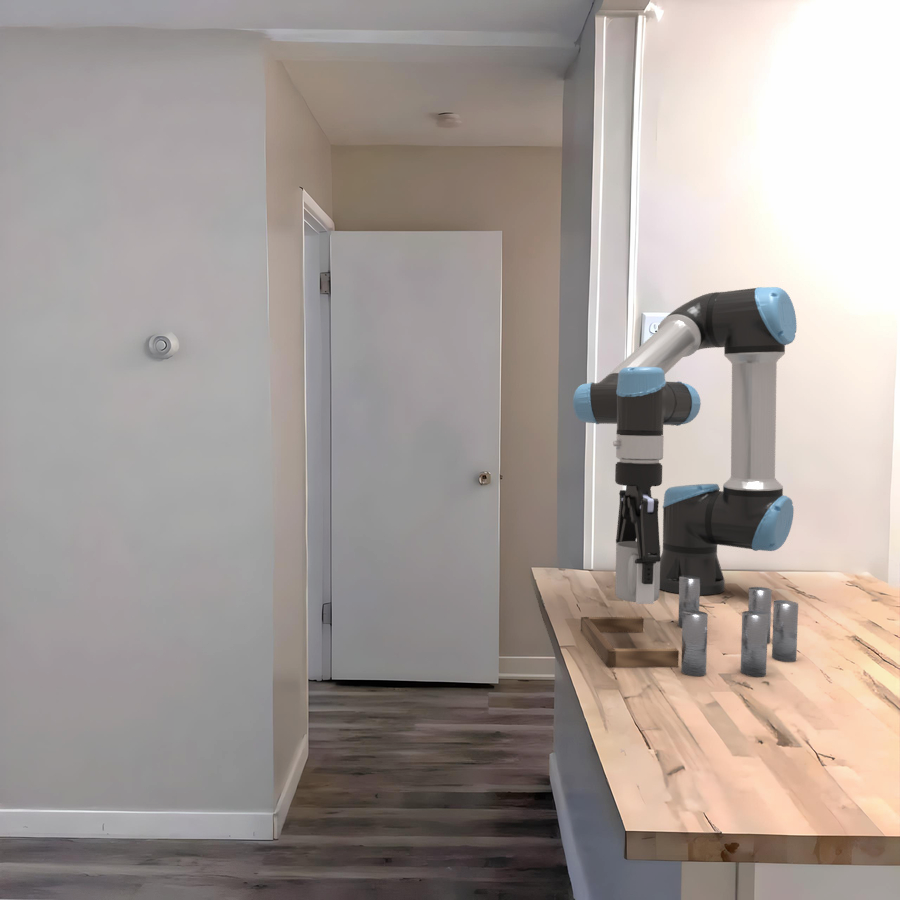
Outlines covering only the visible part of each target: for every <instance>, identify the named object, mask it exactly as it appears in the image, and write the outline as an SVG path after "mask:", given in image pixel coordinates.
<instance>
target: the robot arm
mask: <svg viewBox="0 0 900 900" xmlns="http://www.w3.org/2000/svg"><path fill="white" fill-rule="evenodd" d="M791 299H792V298H791V297H790V295H789V294H788V292H786V290H784V289H783V288H781V287H778V286H777V287H776V286H770V287H765V286H763V287H762V286H761V287H755V288H753V287H752V288H747V289H746V288H744V289H739V290H737V289H736V290H727V291H715V292H709V293H706V294H705V293H704V294H702V295H700V296H698V297H695V298H694V299H691V300H689V301H688V302H685V303H683V304H682V305H680V306H678V307H677V308H676V309H674V310H673V311H672V312H670V313H669V314H668V315H667V316H665V317H664V319H662V320H661V321H660V323H659V325H658V327H657V331H656V332H655V333H653V334H652V335H651V336H650V337H649V338H648V339H647V340H646V341H644V343H642V344H641V345H640V346H639V347H638V348H637V349H636V350H634V351H633V352H632V353H631V354H630V355H629V356H628V357H626V358H625V359H624V360H623V361H622V362H621V363H620V364H619V365H617V366H616V367H615V368H614V369H613V370H612V371H610V373H609V374H607V375H606V376H605V377H604V378H603V379H601V380H600V381H599V382H590V383H589V382H588V383H583V384H580V385H579V386H578V387H577V388H575V389H576V390H575V391H574V394H573V396H572V397H573V399H572V408H573V411H574V415H575V416H576V418H577V419H578V420H579V421H581V422H583V423H589V424H595V425H600V424H605V425H606V424H609V425H610V424H611V425H613V424H616V440H613V443H612V445H613V447H615V458H616V459H617V460H619V461H617V462H616V463H615V466H614V467H615V475H614V476H615V479H614V481H615V484H617V485H619V486H625V489H624V490H623V489H622V490H619V493H618V494H619V507H618V516H617V517H618V518H617V525H616V526H617V528H616V537H615V538H616V539H615V544H616V543H618V542H624V541H637V547H638V555H639V559H636V560H635V563H636V564H637V575H636V602H635V604H638V605H643V604H644V605H654V604H655V601H654V582H655V564H656V562H660V589H659V590H662V591H666V592H669V593H675V594H679V577H680V576H695V577H699V578H700V596H704V595H705V596H706V595H708V596H710V595H717V594H720V593H723V592H724V591H725V585H726V584H725V583H726V582H725V577H724V573H723V570H722V568H721V564H720V561H719V558H718V546H725V547H731V548H732V547H733V548H739V549H740V548H742V549H749V550H752V551H756V552H757V551H762V552H765V551H766V552H775V551H777V550H779V549H780V548H781V547H782V546H784V543H785V542H786V540H787V538H788V537H789V534H790V532H791V529H792V525H793V519H794V511H795V510H794V504H793V503H794V502H793V500H792V499H791V498H790V497H789V496H787V495H783V494H784V491H783V490H784V486H783V485H782V484H781V483H780V482H779V481H778V480H777V478H776V436H777V435H776V433H777V432H776V431H777V430H776V429H777V427H776V426H777V424H776V423H777V421H776V420H777V368H778V367H777V364H778V362H779V360H780V359H781V358H782V357H783V356H784V355H785V354H786V346H788V345H789V344H792V343H793V341H795V339H796V333H797V318H796V317H797V316H796V311H795V308H794V304H793V301H792V300H791ZM712 348H717V349H718V348H724V349H723V350H724V354H723V355H724V357H725V358H726V359H727V360H728V361H729V362H730V363H731V426H730V427H731V428H730V429H731V431H730V433H731V434H730V436H731V437H730V438H731V440H730V443H731V445H730V449H731V450H730V452H731V453H730V455H731V456H730V478H729V479H728V480H726V482H725V483H723V487H722V490H720V485H719V484H718V483H701V484H688V485H687V484H686V485H678V486H677V485H676V486H670V487H669V488H667V489H666V490H665V492H664V494H663V505H662V510H663V511H662V512H663V515H662V517H663V518H662V519H663V520H662V525H663V526H662V551H661V548H660V546H661V544H660V542H661V541H660V530H659V529H660V527H659V503H660V501H659V499H658V498H653V497H652V491H651V488H652V487H658V486H661V485H662V484H663V464H662V463H660V461H661V460H663V458H664V439H665V438H664V426H681V425H686V424H689V423H691V422H692V421H693V420H695V418H696V417H697V416H698V415H699V413H700V410H701V405H702V404H701V398H700V394H699V392H698V390H697V389H696V388H694V387H693V386H692V385H691V384H688V383H685V382H682V381H679V380H678V381H666V374H667V373H668V372H669V371H670V370H671V369H672V368H673V367H674V366H675V365H676V364H678V363H679V362H680V361H681V359H683V358H685V357H689V356H692V355H693V354H695V353H696V352H697V351H700V350H704V349H712ZM648 553H650V554H648Z"/></svg>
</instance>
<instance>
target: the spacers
mask: <svg viewBox="0 0 900 900" xmlns="http://www.w3.org/2000/svg"><path fill="white" fill-rule="evenodd" d="M772 591H773V590H772V589H770V588H768V587H762V586H751V587H749V588H748V609H747V610H745V611H743V612H741V638H740V639H741V642H740V643H741V644H740V646H741V647H740V673H741V674H743V675H744V676H748V677H755V678H762V677H763V678H764V677H765V676H766V675H767V660H768V659H767V658H768V655H767V654H768V644H770V643H772V644H771V645H772V646H771V657H772V659H774V660H775V661H779V662H784V663H786V662H787V663H793V662H797V652H798V651H797V649H798V647H797V646H798V625H799V624H798V621H799V603H798V602H796V601H793V600H787V599H777V600H774V601H773V611H772ZM700 596H701V595H700V578H699V577H695V576H680V577H679V593H678V617H677V618H678V621H677V622H678V625H677V626H678V627H680V628H681V660H680V661H681V662H680V663H681V667H680V671H681V673H682V674H684V675H687V676H690V677H691V676H692V677H704V676H706V674H707V659H708V658H707V656H708V655H707V653H708V651H707V650H708V621H709V619H708V613H706V612H704V611H701V610H700V598H701V597H700ZM772 613H773V614H772ZM772 615H773V616H772ZM771 617H773V618H771ZM771 619H772V620H771ZM771 622H772V626H771ZM771 627H772V642H771Z"/></svg>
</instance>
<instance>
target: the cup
mask: <svg viewBox="0 0 900 900" xmlns="http://www.w3.org/2000/svg"><path fill="white" fill-rule="evenodd" d="M615 545H616V546H615V547H616V548H615V549H616V550H615V588H614V589H615V590H614V592H615V596H616V598H618V599H619V600H622V601H625V602H631V603H636V575H637V564H636V563H635V560H636V559H639V555H638V547H637V540H636V541H624V542H618V543H616V542H615ZM661 547H662V546H661V545H660V549H661ZM648 554H650V553H648ZM660 590H661V589H660V562H656V564H655V582H654V602H656V601H658V600H659V598H660Z"/></svg>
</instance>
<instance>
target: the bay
mask: <svg viewBox="0 0 900 900" xmlns="http://www.w3.org/2000/svg"><path fill="white" fill-rule="evenodd" d="M644 620H645V619H644V617H643V616H581V617H580V632H582V634H583V635H584V637H585V638H586V640H587V639H588V640H587V641H588V643H591V644H590V645H591V646H592V648H593V647H594V648H593V649H594V650H595V652H596V651H597V652H596V653H597V655H598V656H599V657H600V658H601V660H602V661H603V663H604V664H605V666H606V667H607V668H665V667H666V668H668V667H669V668H672V667H673V668H674V667H677V668H678V667H679V661H680V659H679V656H680V655H679V654H680V652H679V651H680V650H679V649H677V648H676V647H675V648H671V647H670V648H669V647H668V648H667V647H666V648H659V647H658V648H614V647H613V646H612V644H611V643H610V642H609V640H608V639H607V638H606V637H605V636H604V635H603V634H602V633H644V625H645V624H644V623H645V621H644Z"/></svg>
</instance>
